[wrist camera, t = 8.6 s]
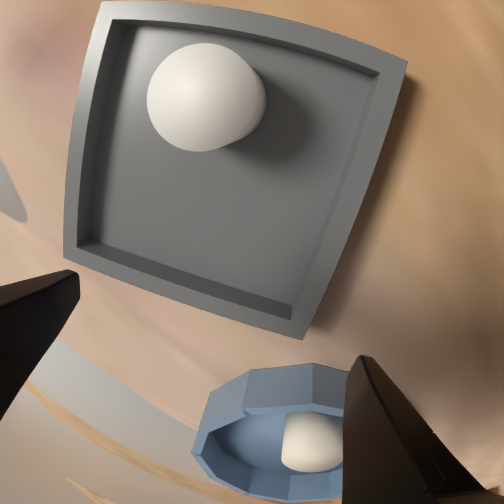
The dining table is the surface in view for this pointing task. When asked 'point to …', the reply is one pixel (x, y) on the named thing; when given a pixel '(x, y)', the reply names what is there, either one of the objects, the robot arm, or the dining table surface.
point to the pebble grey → (205, 98)
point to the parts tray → (225, 163)
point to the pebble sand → (312, 441)
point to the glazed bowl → (268, 432)
